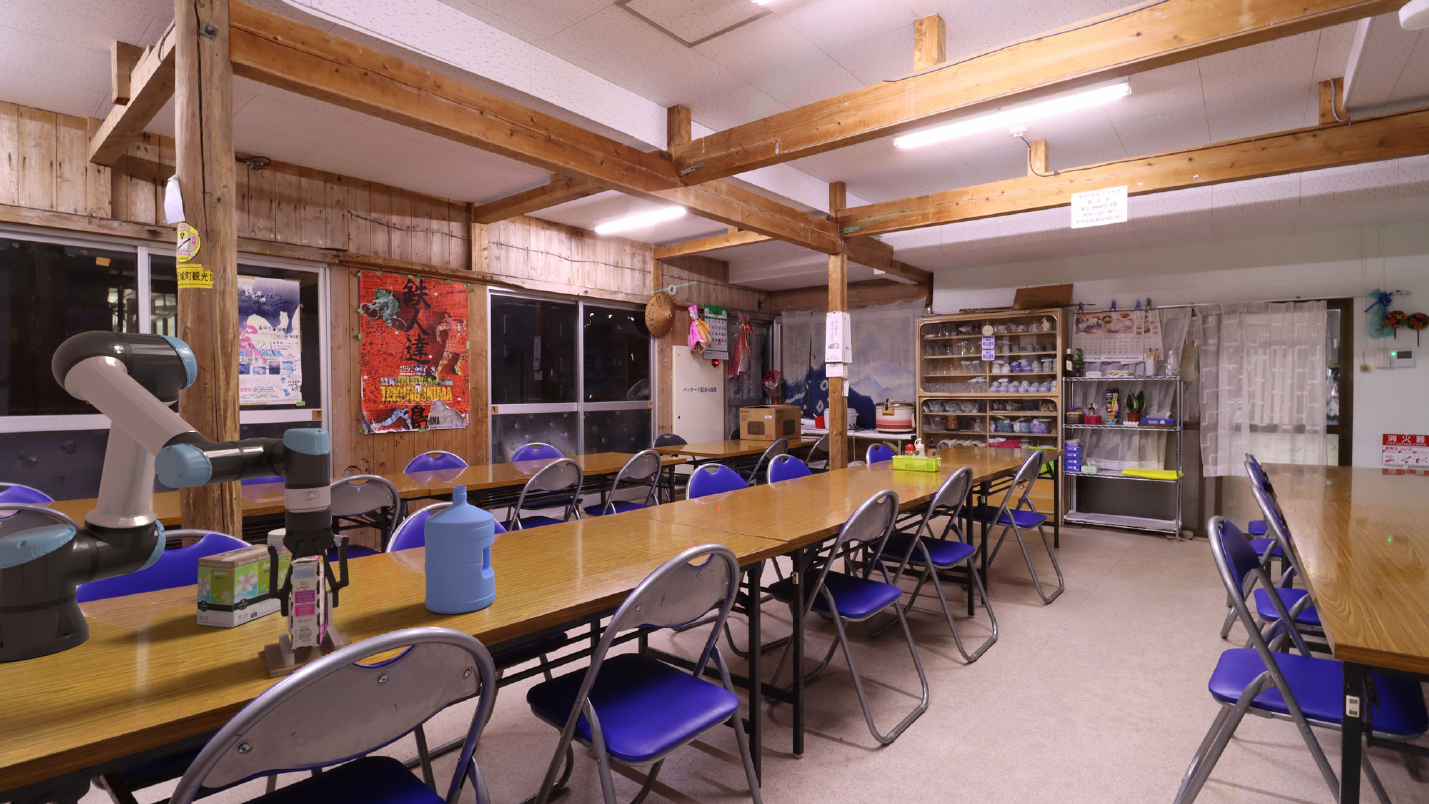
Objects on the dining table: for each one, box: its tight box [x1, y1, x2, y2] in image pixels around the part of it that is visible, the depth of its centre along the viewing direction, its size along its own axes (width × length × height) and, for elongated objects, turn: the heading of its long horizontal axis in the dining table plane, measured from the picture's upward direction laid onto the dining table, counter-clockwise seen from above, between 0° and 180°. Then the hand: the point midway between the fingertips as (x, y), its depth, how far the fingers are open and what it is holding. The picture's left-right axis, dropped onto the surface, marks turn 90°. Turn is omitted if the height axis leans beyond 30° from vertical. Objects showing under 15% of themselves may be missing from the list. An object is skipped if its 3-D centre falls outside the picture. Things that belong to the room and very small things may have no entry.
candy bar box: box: [290, 548, 328, 650], centre depth 127 cm, size 11×5×16 cm, turn 24°
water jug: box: [423, 485, 496, 615], centre depth 157 cm, size 16×16×28 cm
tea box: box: [196, 543, 291, 628], centre depth 150 cm, size 15×10×15 cm
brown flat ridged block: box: [263, 624, 353, 679], centre depth 128 cm, size 14×16×3 cm
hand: (310, 628), depth 128 cm, fingers closed on candy bar box, 6 cm apart
